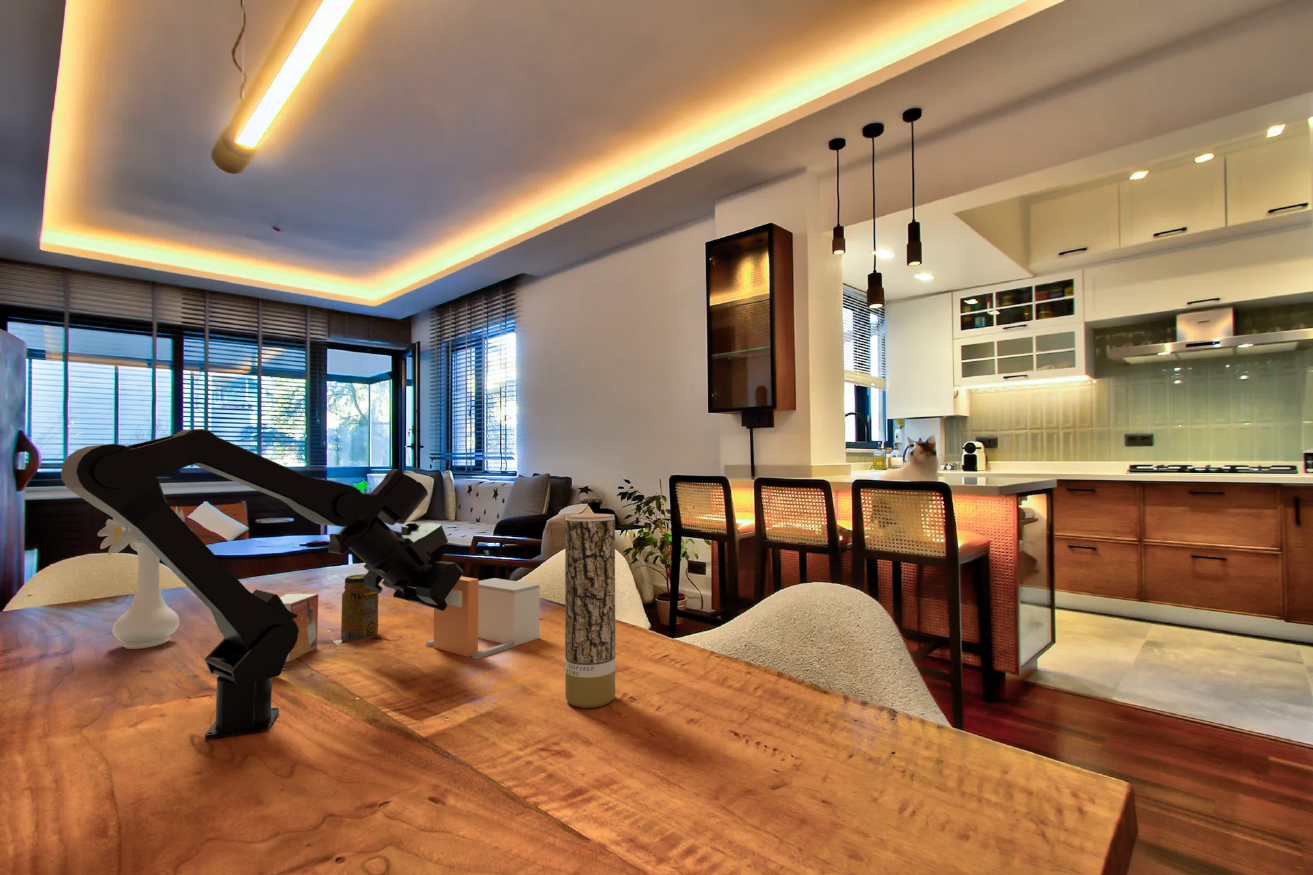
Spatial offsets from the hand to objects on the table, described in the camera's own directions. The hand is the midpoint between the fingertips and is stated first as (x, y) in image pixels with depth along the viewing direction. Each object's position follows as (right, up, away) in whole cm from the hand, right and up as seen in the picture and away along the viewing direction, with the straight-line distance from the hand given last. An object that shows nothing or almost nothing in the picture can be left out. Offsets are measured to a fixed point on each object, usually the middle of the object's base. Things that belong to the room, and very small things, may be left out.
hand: (444, 608), depth 100 cm
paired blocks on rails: (+3, -9, +4) cm, 11 cm away
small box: (-26, -9, 0) cm, 27 cm away
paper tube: (+26, -8, -17) cm, 31 cm away
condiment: (-19, -10, +11) cm, 24 cm away
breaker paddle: (+1, -7, +1) cm, 8 cm away
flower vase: (-59, -10, +11) cm, 61 cm away
